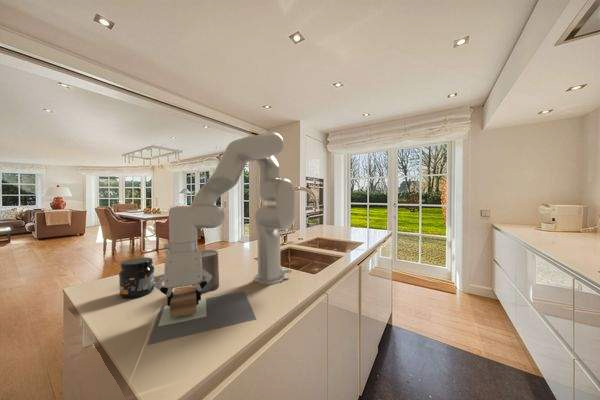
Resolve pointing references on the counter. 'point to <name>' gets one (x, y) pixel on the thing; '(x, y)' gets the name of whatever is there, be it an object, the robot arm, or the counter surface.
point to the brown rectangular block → (183, 301)
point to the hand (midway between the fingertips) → (184, 304)
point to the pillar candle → (210, 269)
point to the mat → (203, 317)
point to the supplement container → (136, 277)
